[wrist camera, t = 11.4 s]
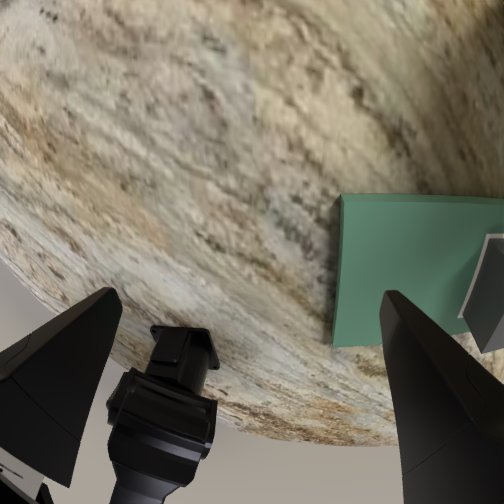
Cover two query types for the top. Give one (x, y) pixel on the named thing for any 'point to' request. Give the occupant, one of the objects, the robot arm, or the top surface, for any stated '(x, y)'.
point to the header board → (409, 258)
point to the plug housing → (488, 300)
